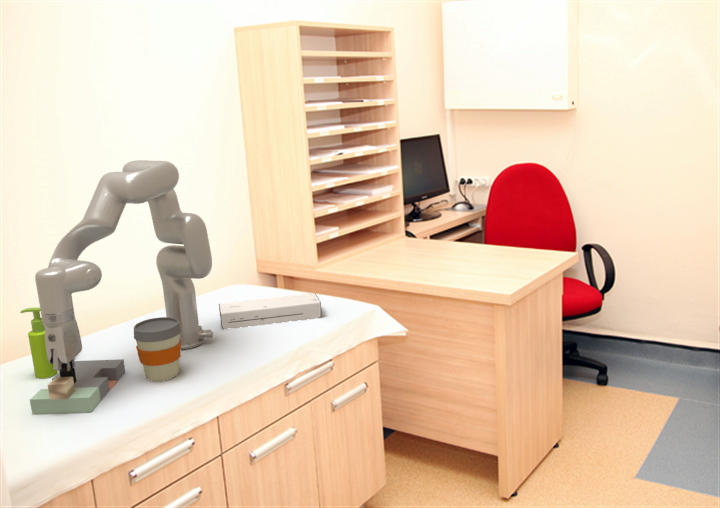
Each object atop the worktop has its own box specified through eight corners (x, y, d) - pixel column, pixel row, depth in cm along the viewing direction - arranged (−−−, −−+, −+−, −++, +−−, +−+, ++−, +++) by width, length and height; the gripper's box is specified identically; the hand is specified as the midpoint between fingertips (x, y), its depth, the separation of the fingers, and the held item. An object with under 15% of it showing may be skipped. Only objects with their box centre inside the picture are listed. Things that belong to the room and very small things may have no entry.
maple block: (75, 391, 167) (72, 376, 166) (67, 398, 163) (65, 384, 162) (58, 391, 168) (55, 377, 167) (50, 399, 163) (47, 384, 162)
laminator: (221, 331, 219) (220, 313, 217) (220, 319, 230) (218, 302, 229) (321, 318, 226) (320, 301, 225) (315, 308, 238) (314, 292, 237)
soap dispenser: (36, 371, 191) (25, 306, 186) (60, 369, 192) (50, 304, 187) (28, 379, 186) (16, 312, 181) (53, 377, 186) (42, 311, 181)
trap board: (125, 372, 188) (123, 359, 187) (91, 412, 164) (89, 397, 163) (73, 374, 188) (71, 361, 187) (32, 414, 165) (29, 399, 164)
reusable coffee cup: (194, 368, 188) (189, 319, 185) (165, 387, 177) (159, 334, 173) (160, 363, 193) (154, 315, 190) (129, 380, 182) (122, 329, 179)
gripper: (59, 326, 158) (71, 396, 162) (85, 306, 172) (95, 371, 176) (28, 327, 158) (40, 397, 162) (57, 307, 172) (67, 372, 177)
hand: (69, 383), depth 169 cm, fingers closed
